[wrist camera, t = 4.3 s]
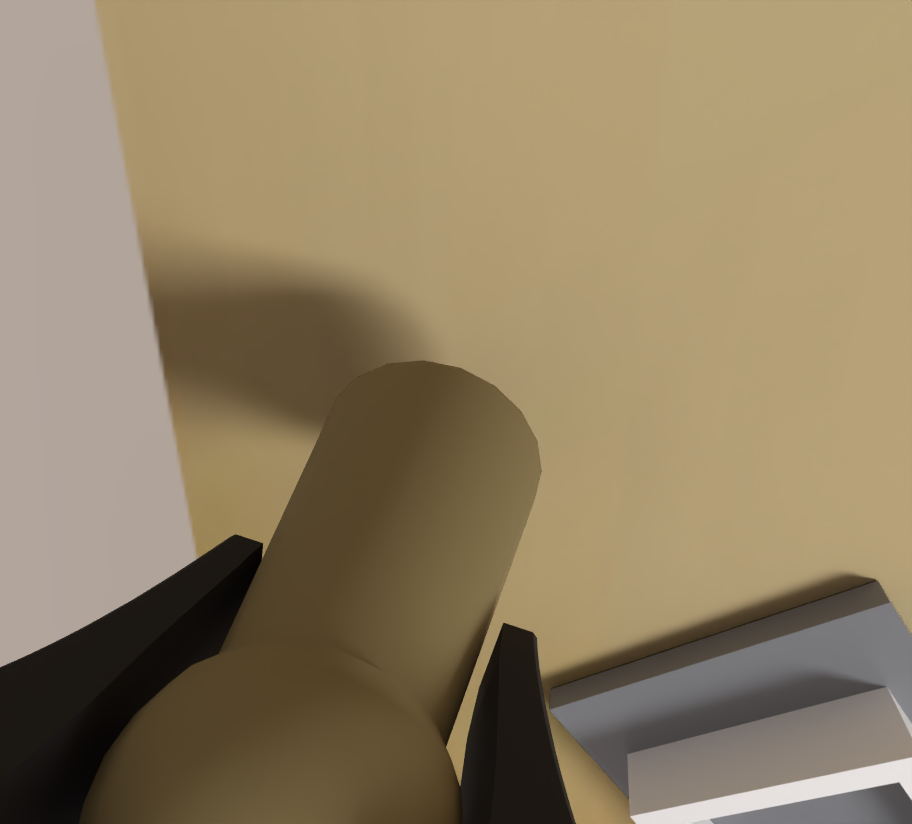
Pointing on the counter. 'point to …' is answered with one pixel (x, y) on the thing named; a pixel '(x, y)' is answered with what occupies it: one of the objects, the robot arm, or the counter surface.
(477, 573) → the cork
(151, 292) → the counter surface
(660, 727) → the socket dock
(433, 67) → the counter surface
